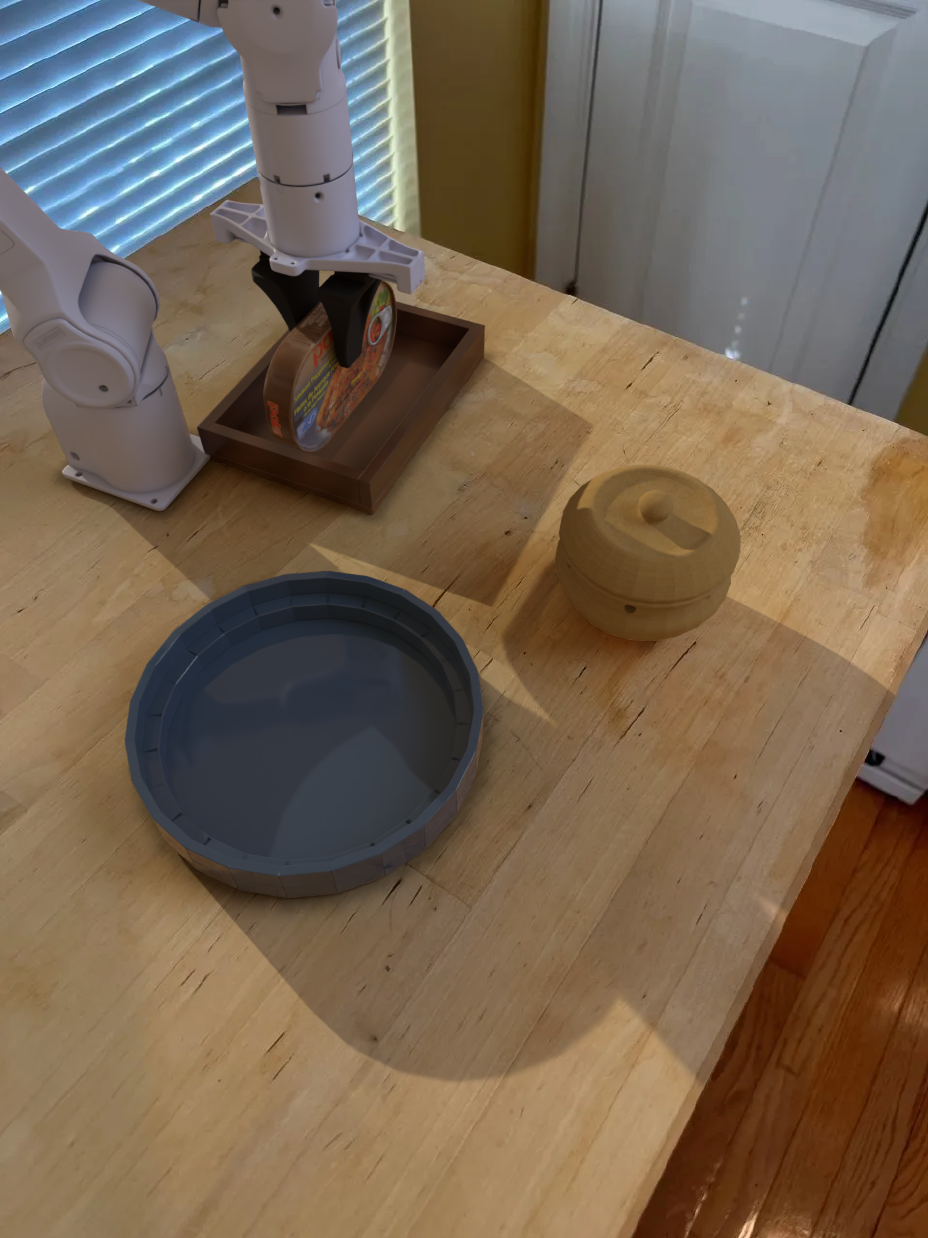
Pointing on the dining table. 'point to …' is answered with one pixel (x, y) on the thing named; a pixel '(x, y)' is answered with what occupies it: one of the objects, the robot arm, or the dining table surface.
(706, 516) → the pot
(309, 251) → the robot arm
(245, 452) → the holder
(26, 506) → the dining table surface
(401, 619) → the bowl
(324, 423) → the tin
